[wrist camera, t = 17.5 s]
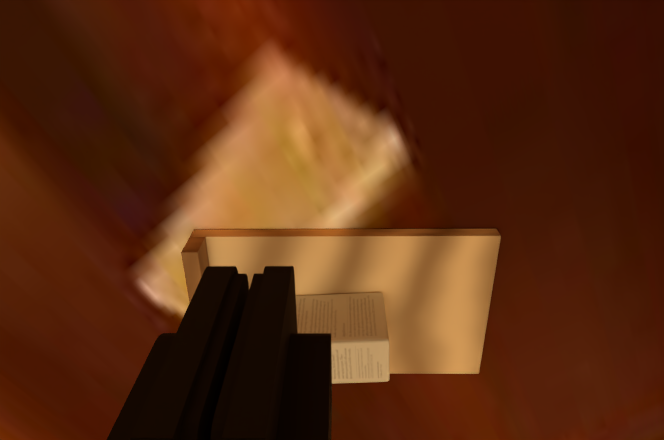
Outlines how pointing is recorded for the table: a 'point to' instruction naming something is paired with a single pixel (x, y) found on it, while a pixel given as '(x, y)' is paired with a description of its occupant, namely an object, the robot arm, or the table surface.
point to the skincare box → (349, 333)
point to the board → (378, 281)
